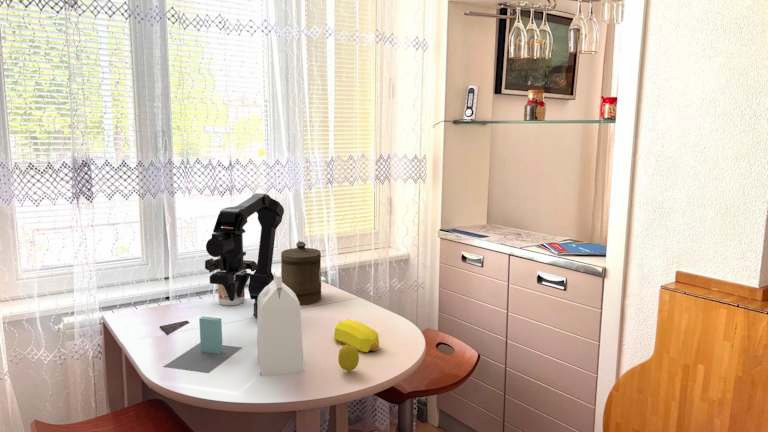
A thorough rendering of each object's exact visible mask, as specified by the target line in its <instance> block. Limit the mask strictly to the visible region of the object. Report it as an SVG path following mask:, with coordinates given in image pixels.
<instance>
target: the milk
mask: <svg viewBox="0 0 768 432" xmlns="http://www.w3.org/2000/svg"><path fill="white" fill-rule="evenodd" d="M273 276H274V280H273V281H272V282H271V283H270V284H269V285H267V286H266V287H265V288H264V289H263V290H262V292H261V293H260V294H259V296H258V300H257V317H256V318H257V319H256V320H257V321H256V322H257V326H256V327H257V331H256V332H257V334H256V335H257V336H256V337H257V340H256V341H257V343H256V344H257V346H256V347H257V355H256V357H257V361H258V365H259V371H260V373H259V374H260V376H261V377H265V376H271V375H272V376H273V375H274V376H275V375H280V374H287V373H289V374H291V373H297V372H298V373H299V372H305V361H304V346H303V331H302V330H303V329H302V327H303V326H302V313H301V305H300V304H299V301H298V299H297V296H296V294H295V293H294V292H293V291H292V290H291V289H290V288H289V287H287V286H286V285H285V284H284V283H283V282H282V276H281V271H280V270H274V271H273Z"/></svg>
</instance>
